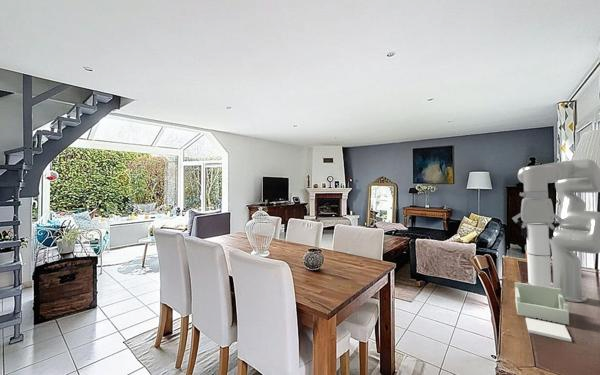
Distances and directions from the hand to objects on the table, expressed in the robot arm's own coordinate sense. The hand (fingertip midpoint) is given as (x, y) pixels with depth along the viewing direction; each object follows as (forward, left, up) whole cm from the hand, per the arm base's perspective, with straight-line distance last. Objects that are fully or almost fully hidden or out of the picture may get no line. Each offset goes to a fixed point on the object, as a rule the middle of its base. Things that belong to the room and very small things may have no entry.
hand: (537, 237), depth 111 cm
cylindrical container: (0, 0, -20) cm, 20 cm away
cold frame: (0, 0, -31) cm, 31 cm away
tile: (+14, -11, -31) cm, 35 cm away
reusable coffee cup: (-54, +53, -31) cm, 82 cm away
